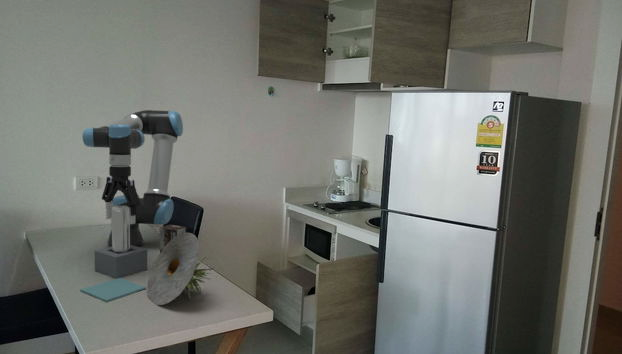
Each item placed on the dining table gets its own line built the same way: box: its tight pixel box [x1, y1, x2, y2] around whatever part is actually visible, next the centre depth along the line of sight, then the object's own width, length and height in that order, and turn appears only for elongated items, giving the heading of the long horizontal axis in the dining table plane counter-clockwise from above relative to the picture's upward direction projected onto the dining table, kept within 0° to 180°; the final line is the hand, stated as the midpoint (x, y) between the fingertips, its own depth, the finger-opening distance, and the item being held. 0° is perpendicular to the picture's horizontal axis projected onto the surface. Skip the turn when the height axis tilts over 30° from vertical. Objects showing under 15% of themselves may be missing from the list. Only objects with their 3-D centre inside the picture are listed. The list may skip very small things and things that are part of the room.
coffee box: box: [159, 224, 188, 253], centre depth 186 cm, size 9×6×16 cm
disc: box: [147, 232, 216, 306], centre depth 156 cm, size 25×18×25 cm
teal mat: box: [80, 277, 147, 303], centre depth 159 cm, size 15×15×1 cm
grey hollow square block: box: [94, 245, 148, 279], centre depth 179 cm, size 14×14×8 cm
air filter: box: [111, 206, 130, 254], centre depth 178 cm, size 6×6×25 cm
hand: (120, 221), depth 177 cm, fingers open, 13 cm apart
